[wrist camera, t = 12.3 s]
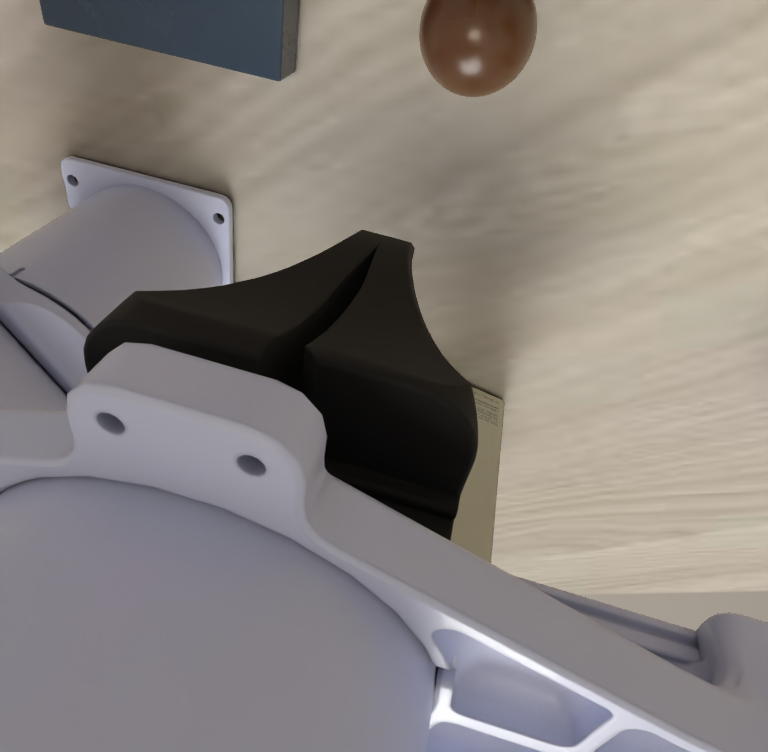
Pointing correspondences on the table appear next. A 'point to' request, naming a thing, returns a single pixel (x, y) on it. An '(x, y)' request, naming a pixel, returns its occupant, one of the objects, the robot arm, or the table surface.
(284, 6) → the button box
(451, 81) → the lever
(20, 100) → the table surface
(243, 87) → the table surface
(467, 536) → the cosmetic box
